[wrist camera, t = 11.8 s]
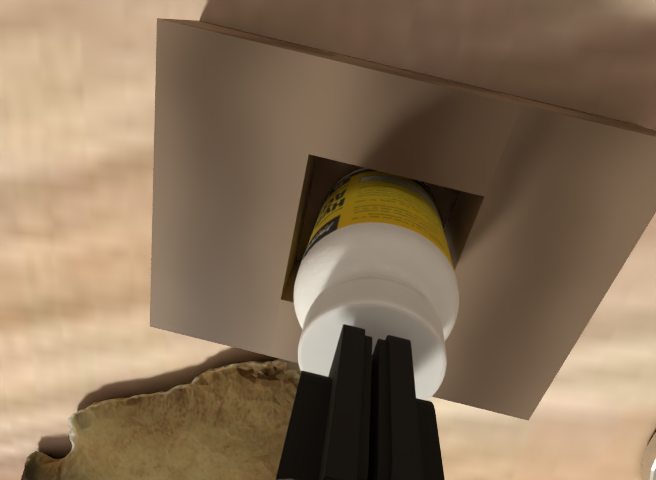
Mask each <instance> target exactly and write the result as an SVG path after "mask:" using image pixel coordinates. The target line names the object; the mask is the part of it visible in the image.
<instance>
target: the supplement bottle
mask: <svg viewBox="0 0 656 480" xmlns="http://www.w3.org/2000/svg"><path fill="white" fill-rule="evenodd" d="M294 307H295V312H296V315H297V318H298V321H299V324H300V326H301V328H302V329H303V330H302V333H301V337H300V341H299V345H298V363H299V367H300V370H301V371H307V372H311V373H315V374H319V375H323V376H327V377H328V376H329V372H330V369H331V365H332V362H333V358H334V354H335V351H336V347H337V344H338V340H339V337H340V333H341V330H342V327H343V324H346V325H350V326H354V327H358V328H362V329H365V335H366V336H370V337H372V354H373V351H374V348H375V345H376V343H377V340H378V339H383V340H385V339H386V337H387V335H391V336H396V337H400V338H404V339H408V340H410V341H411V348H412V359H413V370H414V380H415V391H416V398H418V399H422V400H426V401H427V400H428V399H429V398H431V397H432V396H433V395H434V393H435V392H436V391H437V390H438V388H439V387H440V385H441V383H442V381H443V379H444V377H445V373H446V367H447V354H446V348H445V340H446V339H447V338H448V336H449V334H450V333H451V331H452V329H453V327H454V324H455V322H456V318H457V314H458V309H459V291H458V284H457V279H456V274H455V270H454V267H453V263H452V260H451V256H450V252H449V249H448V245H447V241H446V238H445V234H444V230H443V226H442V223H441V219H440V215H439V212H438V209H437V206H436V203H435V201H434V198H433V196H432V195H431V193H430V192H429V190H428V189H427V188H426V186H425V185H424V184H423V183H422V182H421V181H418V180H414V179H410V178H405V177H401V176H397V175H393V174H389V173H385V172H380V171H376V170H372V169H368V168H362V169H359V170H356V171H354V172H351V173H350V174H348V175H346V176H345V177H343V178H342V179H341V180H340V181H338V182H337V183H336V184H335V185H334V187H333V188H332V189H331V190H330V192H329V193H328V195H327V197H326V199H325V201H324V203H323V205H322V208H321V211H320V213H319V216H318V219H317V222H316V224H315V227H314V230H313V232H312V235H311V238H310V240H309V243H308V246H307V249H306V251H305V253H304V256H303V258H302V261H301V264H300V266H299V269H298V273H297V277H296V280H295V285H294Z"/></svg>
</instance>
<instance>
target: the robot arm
mask: <svg viewBox="0 0 656 480" xmlns="http://www.w3.org/2000/svg"><path fill="white" fill-rule="evenodd" d="M642 479H643V480H656V433H655V434H654V435H653V437H652V439H651V441H650V442H649V444H648V446H647V448H646V449H645V453H644V457H643V460H642ZM275 480H444V472H443V465H442V458H441V451H440V444H439V436H438V429H437V422H436V415H435V409H434V405H433V403H432V402H430V401H426V400H422V399H418V398H416V391H415V380H414V370H413V359H412V348H411V341H410V340H408V339H404V338H400V337H396V336H391V335H387V337H386V339H385V340H383V339H378V340H377V343H376V345H375V348H374V351H373V354H372V337H370V336H366V335H365V329H362V328H358V327H354V326H350V325H346V324H343V327H342V330H341V333H340V337H339V340H338V344H337V347H336V351H335V354H334V358H333V362H332V365H331V369H330V372H329V376H328V377H327V376H323V375H319V374H315V373H311V372H307V371H301V375H300V379H299V383H298V387H297V391H296V395H295V400H294V404H293V408H292V412H291V416H290V420H289V425H288V429H287V433H286V437H285V441H284V446H283V450H282V454H281V458H280V463H279V467H278V471H277V475H276V479H275Z"/></svg>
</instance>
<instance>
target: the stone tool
mask: <svg viewBox="0 0 656 480" xmlns="http://www.w3.org/2000/svg"><path fill="white" fill-rule="evenodd" d="M300 375H301V370H300V367H299V363H295V362H291V361H287V360H283V359H278V360H275V361H272V362H271V361H267V362H263V363H259V362H256V361H250V362H242V363H238V364H229V365H225V366H223V367H220V368H215V369H208V370H206V371H205V372H203V373H201V374H199V375H198V376H196V377H195V378H194V380H193V381H192V382H190V383H188V384H179V385H177V386H175V387H173V388H171V389H170V390H168V391H167V392H161V391H160V392H156V393H152V394H140V395H135V396H131V397H126V398H115V399H108V400H104V401H99V402H94V403H92V404H91V405H90V406H88V407H86V408H84V409H81V410H79V411H78V412H77V413H75V414H73V415H72V416H71V417H70V418H69V419H68V424H69V426H70V428H71V430H70V433H69V436H70V441H71V443H72V449H71V451H70V453H69V454H68V455H67V456H65V457H64V458H62V459H54V458H52V457H50V456H48V455H46V454H44V453H42V452H37V451H35V452H34V453H32V454H30V456H28V457H27V461H26V463H25V469H24V472H23V475H22V478H21V480H275V479H276V475H277V471H278V467H279V463H280V458H281V454H282V450H283V446H284V441H285V437H286V433H287V429H288V425H289V420H290V416H291V412H292V408H293V404H294V400H295V395H296V391H297V387H298V383H299V379H300Z"/></svg>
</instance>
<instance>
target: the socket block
mask: <svg viewBox="0 0 656 480" xmlns="http://www.w3.org/2000/svg"><path fill="white" fill-rule="evenodd" d="M317 156H318V157H322V158H327V159H331V160H335V161H339V162H343V163H347V164H351V165H356V166H360V167H364V168H368V169H372V170H376V171H380V172H385V173H389V174H393V175H397V176H401V177H405V178H410V179H414V180H418V181H422V182H426V183H430V184H434V185H439V186H443V187H447V188H451V189H455V190H459V194H458V196H457V199H456V202H455V204H454V207H453V210H452V212H451V215H450V218H449V220H448V223H447V226H446V229H445V231H444V234H445V238H446V241H447V245H448V249H449V252H450V256H451V260H452V263H453V267H454V270H455V274H456V279H457V284H458V291H459V309H458V314H457V318H456V322H455V324H454V327H453V329H452V331H451V333H450V334H449V336H448V338H447V339H446V340H445V348H446V354H447V367H446V373H445V377H444V379H443V381H442V383H441V385H440V387H439V388H438V390H437V391H436V392H435V393H434V395H433V396H432V397H436V398H440V399H444V400H448V401H452V402H456V403H461V404H465V405H469V406H473V407H477V408H481V409H485V410H489V411H493V412H497V413H501V414H505V415H509V416H513V417H517V418H521V419H525V420H529V419H530V417H531V415H532V414H533V412H534V410H535V409H536V407H537V406H538V404H539V402H540V401H541V399H542V397H543V396H544V394H545V392H546V391H547V389H548V388H549V386H550V384H551V383H552V381H553V379H554V378H555V376H556V374H557V373H558V371H559V370H560V368H561V366H562V365H563V363H564V361H565V360H566V358H567V356H568V355H569V353H570V352H571V350H572V348H573V347H574V345H575V343H576V342H577V340H578V338H579V337H580V335H581V334H582V332H583V330H584V329H585V327H586V325H587V324H588V322H589V320H590V319H591V317H592V316H593V314H594V312H595V311H596V309H597V307H598V306H599V304H600V302H601V301H602V299H603V298H604V296H605V294H606V293H607V291H608V289H609V288H610V286H611V284H612V283H613V281H614V280H615V278H616V276H617V275H618V273H619V271H620V270H621V268H622V266H623V265H624V263H625V262H626V260H627V258H628V257H629V255H630V253H631V252H632V250H633V248H634V247H635V245H636V244H637V242H638V240H639V239H640V237H641V235H642V234H643V232H644V230H645V229H646V227H647V226H648V224H649V222H650V221H651V219H652V217H653V216H654V214H655V212H656V131H653V130H650V129H647V128H645V127H642V126H639V125H635V124H631V123H627V122H623V121H619V120H614V119H610V118H606V117H602V116H597V115H593V114H589V113H585V112H581V111H576V110H572V109H568V108H564V107H560V106H555V105H551V104H547V103H543V102H538V101H534V100H530V99H526V98H522V97H517V96H513V95H509V94H505V93H501V92H496V91H492V90H488V89H484V88H479V87H475V86H471V85H467V84H463V83H458V82H454V81H450V80H446V79H441V78H437V77H433V76H429V75H425V74H420V73H416V72H412V71H408V70H404V69H399V68H395V67H391V66H387V65H382V64H378V63H374V62H370V61H366V60H361V59H357V58H353V57H349V56H345V55H340V54H336V53H332V52H328V51H323V50H319V49H315V48H311V47H307V46H302V45H298V44H294V43H290V42H286V41H281V40H277V39H273V38H269V37H264V36H260V35H256V34H252V33H248V32H243V31H239V30H235V29H231V28H226V27H222V26H218V25H214V24H210V23H205V22H201V21H192V20H175V19H158V18H157V46H156V89H155V131H154V174H153V216H152V258H151V301H150V327H154V328H158V329H163V330H167V331H171V332H175V333H179V334H183V335H187V336H191V337H195V338H199V339H203V340H207V341H211V342H215V343H219V344H223V345H227V346H231V347H235V348H239V349H243V350H247V351H251V352H255V353H259V354H263V355H267V356H271V357H275V358H279V359H283V360H287V361H291V362H295V363H298V345H299V341H300V337H301V333H302V330H303V329H302V328H301V326H300V324H299V321H298V318H297V315H296V312H295V307H294V285H295V280H296V277H297V273H298V269H299V266H300V264H301V262H299V261H296V257H297V252H298V247H299V243H300V238H301V233H302V228H303V223H304V218H305V213H306V208H307V203H308V198H309V193H310V188H311V183H312V178H313V173H314V168H315V163H316V158H317Z"/></svg>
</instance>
